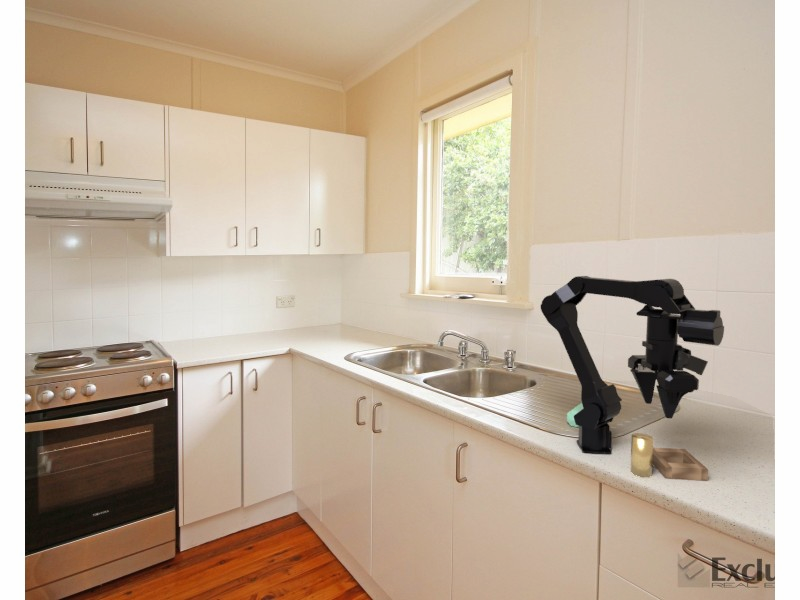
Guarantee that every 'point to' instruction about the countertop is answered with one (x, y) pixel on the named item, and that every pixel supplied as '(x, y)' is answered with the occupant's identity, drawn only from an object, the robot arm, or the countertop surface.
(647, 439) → the peg
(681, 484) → the countertop surface
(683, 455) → the jig
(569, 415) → the container
